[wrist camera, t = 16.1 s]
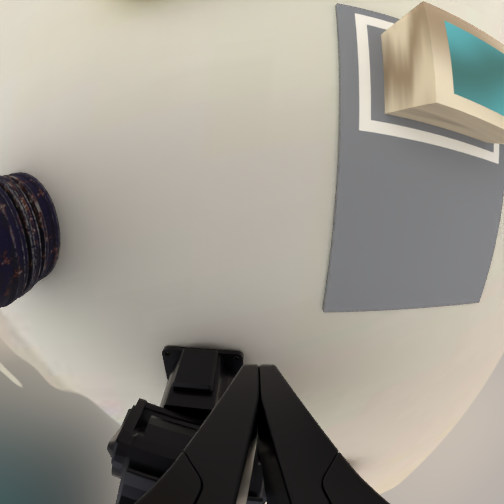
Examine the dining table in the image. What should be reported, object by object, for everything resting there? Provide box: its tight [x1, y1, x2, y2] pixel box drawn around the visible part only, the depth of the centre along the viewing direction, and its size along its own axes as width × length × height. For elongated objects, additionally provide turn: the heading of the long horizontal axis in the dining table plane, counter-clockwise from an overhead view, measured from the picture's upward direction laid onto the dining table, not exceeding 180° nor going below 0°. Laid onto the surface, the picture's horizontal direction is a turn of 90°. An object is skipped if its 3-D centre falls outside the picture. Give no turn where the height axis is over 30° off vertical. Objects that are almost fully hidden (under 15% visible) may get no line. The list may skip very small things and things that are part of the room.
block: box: [381, 1, 504, 144], centre depth 11 cm, size 6×10×6 cm, turn 89°
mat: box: [323, 3, 504, 312], centre depth 16 cm, size 22×16×1 cm
